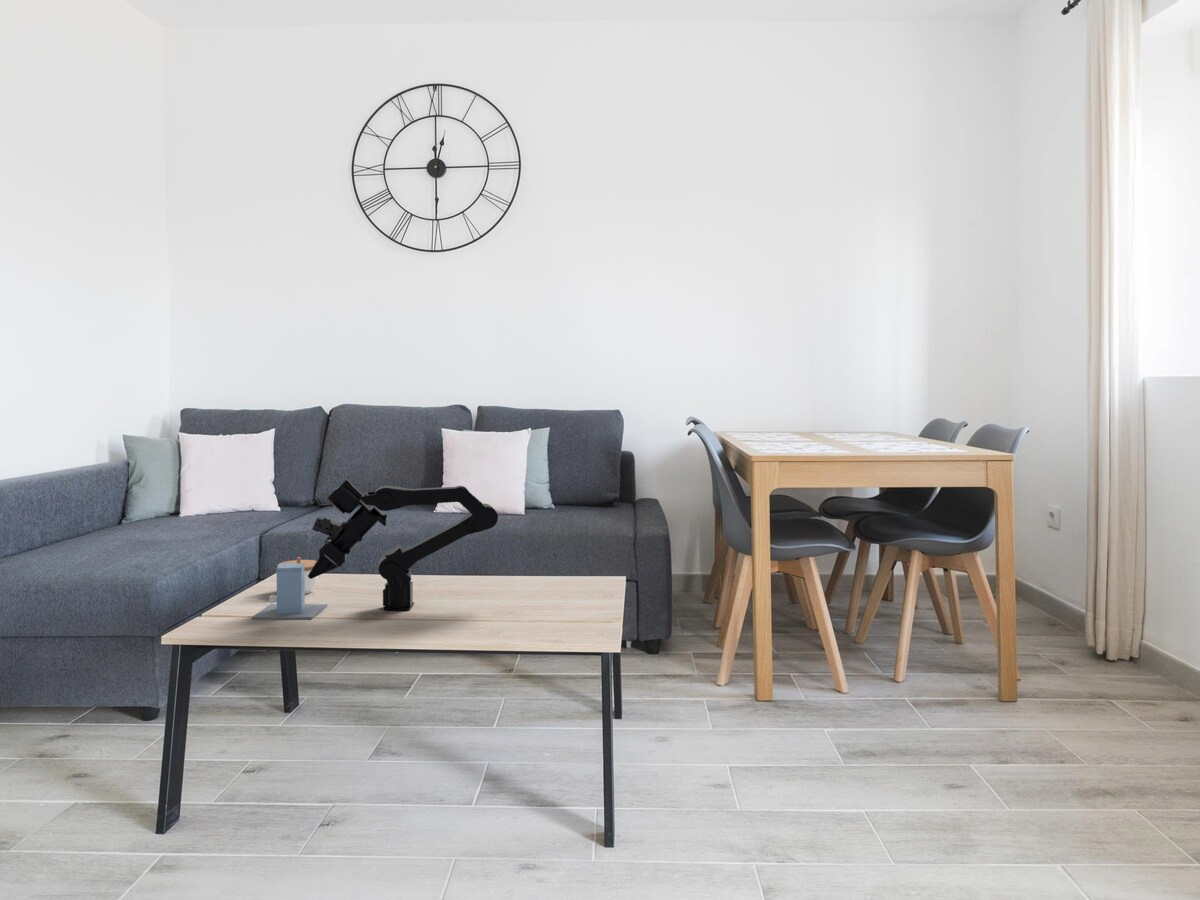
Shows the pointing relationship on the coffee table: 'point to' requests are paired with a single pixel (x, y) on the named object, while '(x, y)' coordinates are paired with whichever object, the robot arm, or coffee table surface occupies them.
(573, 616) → the coffee table surface
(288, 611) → the tall blue rectangular block
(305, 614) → the flat square base plate
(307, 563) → the lidded jar
